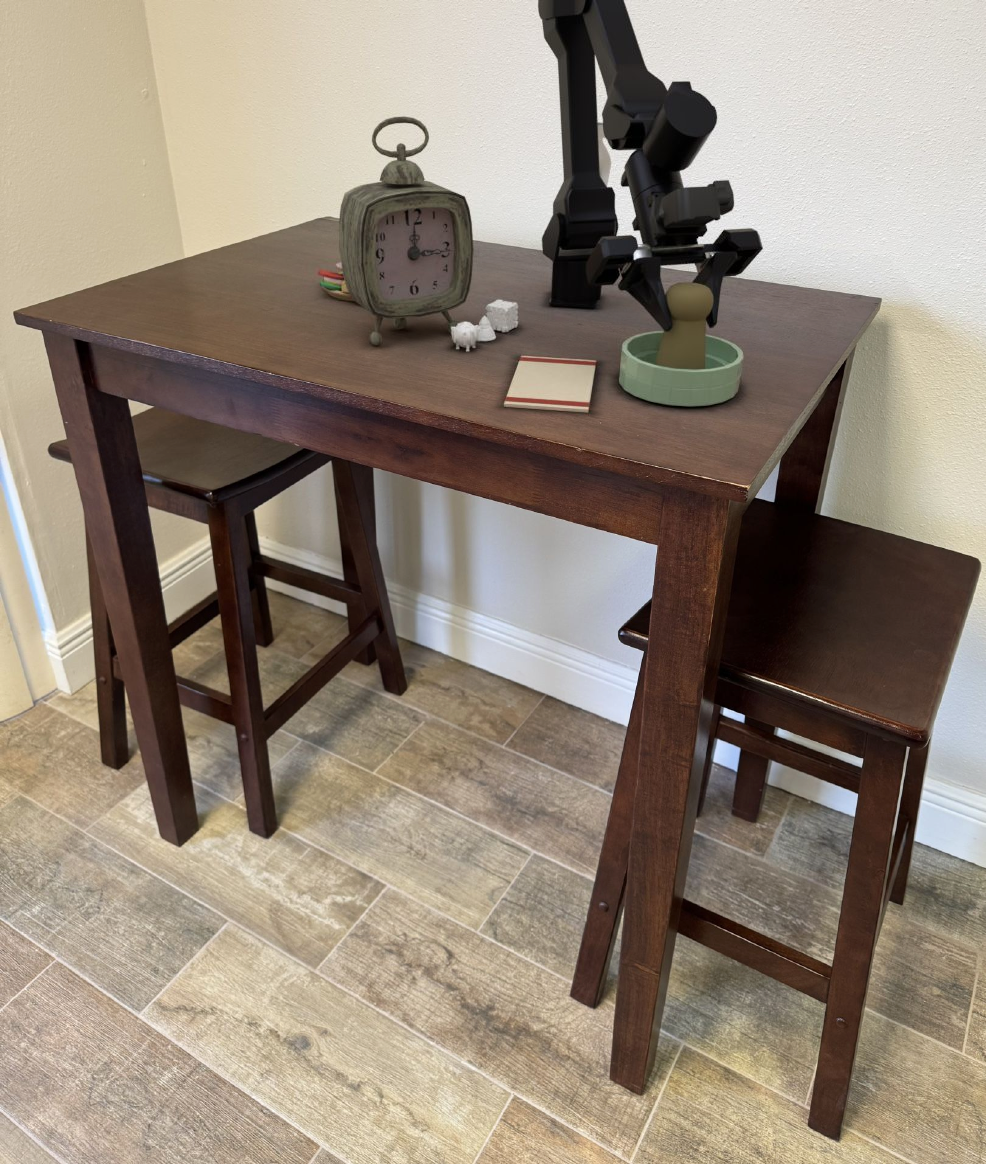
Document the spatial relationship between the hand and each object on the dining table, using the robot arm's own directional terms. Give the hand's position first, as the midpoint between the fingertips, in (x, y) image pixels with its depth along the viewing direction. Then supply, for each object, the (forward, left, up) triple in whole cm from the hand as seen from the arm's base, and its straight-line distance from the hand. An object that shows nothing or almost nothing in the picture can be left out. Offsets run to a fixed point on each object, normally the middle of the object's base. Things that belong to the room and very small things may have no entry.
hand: (691, 328), depth 101 cm
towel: (-15, -1, -7) cm, 16 cm away
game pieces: (-25, +13, -7) cm, 29 cm away
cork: (-1, +1, -7) cm, 7 cm away
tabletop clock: (-35, +13, -7) cm, 38 cm away
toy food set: (-45, +30, -7) cm, 54 cm away
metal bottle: (-15, +53, -7) cm, 56 cm away
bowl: (-1, +1, -7) cm, 7 cm away
